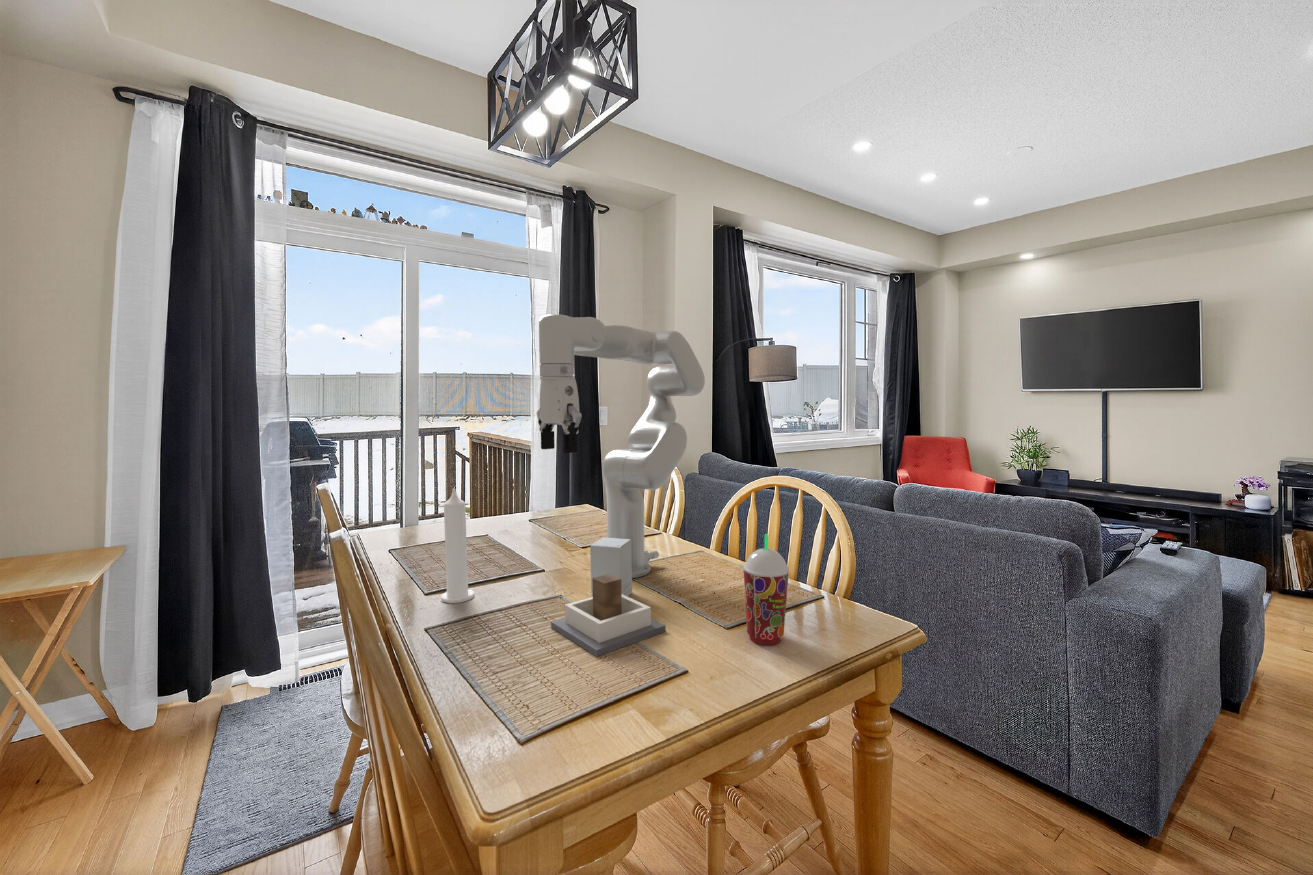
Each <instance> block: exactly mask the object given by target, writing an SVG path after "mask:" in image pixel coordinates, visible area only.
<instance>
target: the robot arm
mask: <svg viewBox="0 0 1313 875" xmlns="http://www.w3.org/2000/svg"><path fill="white" fill-rule="evenodd" d="M538 345H539V346H538V349H539V354H538V355H539V356H538V357H539V358H538V359H539V380H540V388H539V409H538V410H537V412H536V416H537V423H538V426H539V427H538V428H539V433H540V449H541V450H553V449H555V448H556V447H555V431H554V430H553V429H554V427H555V425H556V426H561V427H562V429H563V432H564V434H562V449H563V450H562V451H563V453H564V454H570V453H571V454H572V453H577V452H578V434H579V432H580V431H579V429H580V427H581V420H582V413H581V412H580V398H579V392H578V384H577V381H576V377H575V376H576V374H575V371H576V370H575V366H576V365H575V356H580V357H581V356H582V357H588V358H589V357H591V358H597V359H598V358H599V359H605V360H617V361H624V362H631V363H636V364H642V365H649V366H650V365H659V366H655V367H654V368H651V370H650V371H649V373H648V375H647V378H646V387H647V388H646V390H647V394H648V397H647V398H648V406H647V408H646V409H645V411H644V412H643V414H642V415H641V416H640V418H639V419H638V421H636V423H635V425H634V426H633V427H632V429H631V430H630V433H629V434H628V436H627V446H628V448H615V449H614V450H611V451H609V452H608V453H607V454H605V456H604V459H603V461H602V465H601V466H602V467H601V469H602V477H603V482H604V486H605V493H606V494H605V495H606V538H619V539H631V556H632V579H635V578H640V577H643V576H644V577H645V576H646V575H647V574H649V573H650V572H651V565H650V564H649V563H648V562H650V560H654V559H658V558H659V557H660V553H659V552H658V550H654V551H653V550H652V551H650V552H649V551H648V550H645V502H644V498H643V495H642V493H641V490H649V491H650V490H652V491H655V490H658V489H660V488H662V487H663V486H664V485H665V484H666V483H667V481H668V480H669V478H670V477H671V475H672V473H673V472H674V470H675V468H676V467H677V465H678V464H679V462H680V460H681V459H682V457H683V455H684V454H685V452H686V449H687V442H688V435H687V431H686V429H685V427H683V425H682V424H680V423H678V422H676V421H677V420H676V419H677V412H676V409H675V407H674V405H673V401H672V398H671V397H693V396H697V395H699V394H700V393H701V392H702V391H703V390H704V387H705V383H706V382H705V380H706V379H705V374H704V370H703V367H702V366H701V365H700V362H699V360H698V359H697V355H695V352H694V350H693V349H692V347H691V345H690V343H689V342H688V341H687V339H686V338H685V336H684V335H683V334H682V333H681V332H679V331H677V330H666V331H648V330H644V329H640V328H636V327H631V326H627V325H618V324H617V325H605V324H604V323H603V321H601V320H600V319H598V318H597V317H592V316H586V317H585V316H584V317H583V316H582V317H580V316H579V317H575V316H574V317H573V316H570V315H566V314H565V315H564V314H545V315H542V316H541V317H540V318H539V320H538Z"/></svg>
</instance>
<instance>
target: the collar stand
mask: <svg viewBox="0 0 1313 875" xmlns="http://www.w3.org/2000/svg"><path fill="white" fill-rule="evenodd" d="M621 598H622V614H621V615H618V616H615V617H611V618H608V619H605V620H602V621H600V620H598V619H596V618H595V617H593V597H592V596H591V597H587V598H584V599H580V600H577V601H574V602H569V603H566V604H564V617H562V618H559V619H555V620H551V621H550V628H551V629H553V630H554V631H556V632H558V633H559V634H561V635H562V634H563V637H565V636H566V637H565V638H567V639H568V640H570V641H572V642H573V643H574V644H576V645H578V646H579V645H580V646H579V647H581V648H582V647H583V648H582V649H584V650H585V649H586V650H585V651H587V652H589V653H590V652H591V653H590V654H591V655H594V656H595V657H599V656H602V655H606V654H608V653H610V652H613V651H616V650H618V648H619V649H621V648H620V647H622V648H625V647H626V646H625V645H627V646H630V645H632V644H635V643H638V642H640V641H643V640H645V639H649V638H651V637H654V636H656V635H660V634H662V633H664V632H666V624H663V623H661V622H659V621H658V620H656V619H653V618H652V607H651V606H649V605H647V604H645V603H642V602H640V601H639V600H635V599H634V598H631V597H629V596H628V597H627V596H625V595H623V594H621ZM629 644H630V645H629ZM615 649H616V650H615ZM607 652H608V653H607Z"/></svg>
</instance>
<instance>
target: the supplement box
mask: <svg viewBox="0 0 1313 875" xmlns="http://www.w3.org/2000/svg"><path fill="white" fill-rule="evenodd" d="M589 548H590V550H589V551H590V552H589V554H590V581H591V582H590V585H591V586H590V588H591V597H593V582H592V578H595V577H599V576H603V575H606V574H611V575H613V576H616V577H618V578H620V579H621V594H623V595H625V596H627V597H629V596H630V595H631V594H632V593H633V578H632V556H631V539H619V538H607V536H606V537H605V536H603V537H601V538H600V539H598V540H596V541H595V542H593V543H592V544H590V545H589Z"/></svg>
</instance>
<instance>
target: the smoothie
mask: <svg viewBox="0 0 1313 875" xmlns="http://www.w3.org/2000/svg"><path fill="white" fill-rule="evenodd" d="M742 569H743V580H744V581H743V582H744V583H743V585H744V600H745V619H746V621H745V622H746V623H745V624H746V632H747V634H748V636H749V639H750V640H751V642H753V643H755V644H758V645H761V646H773V645H777V644H779V643H780V642H781V640H782V638H783V636H784V634H785V623H786V622H785V621H786V610H787V599H788V598H787V597H788V584H789V574H790V568H789V567H788V565H787V562H786V560H785V559H784V557H783V556H782V555H781V553H779V552H778V551H776V550H775V549H772V548H769V534H768V533H765V534H764V547H762V548H757V549H756V550H754V551H753V552H752V553H751V554H750V555H749V556H748V558H747V560H746V563H744V564H743V568H742Z"/></svg>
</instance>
